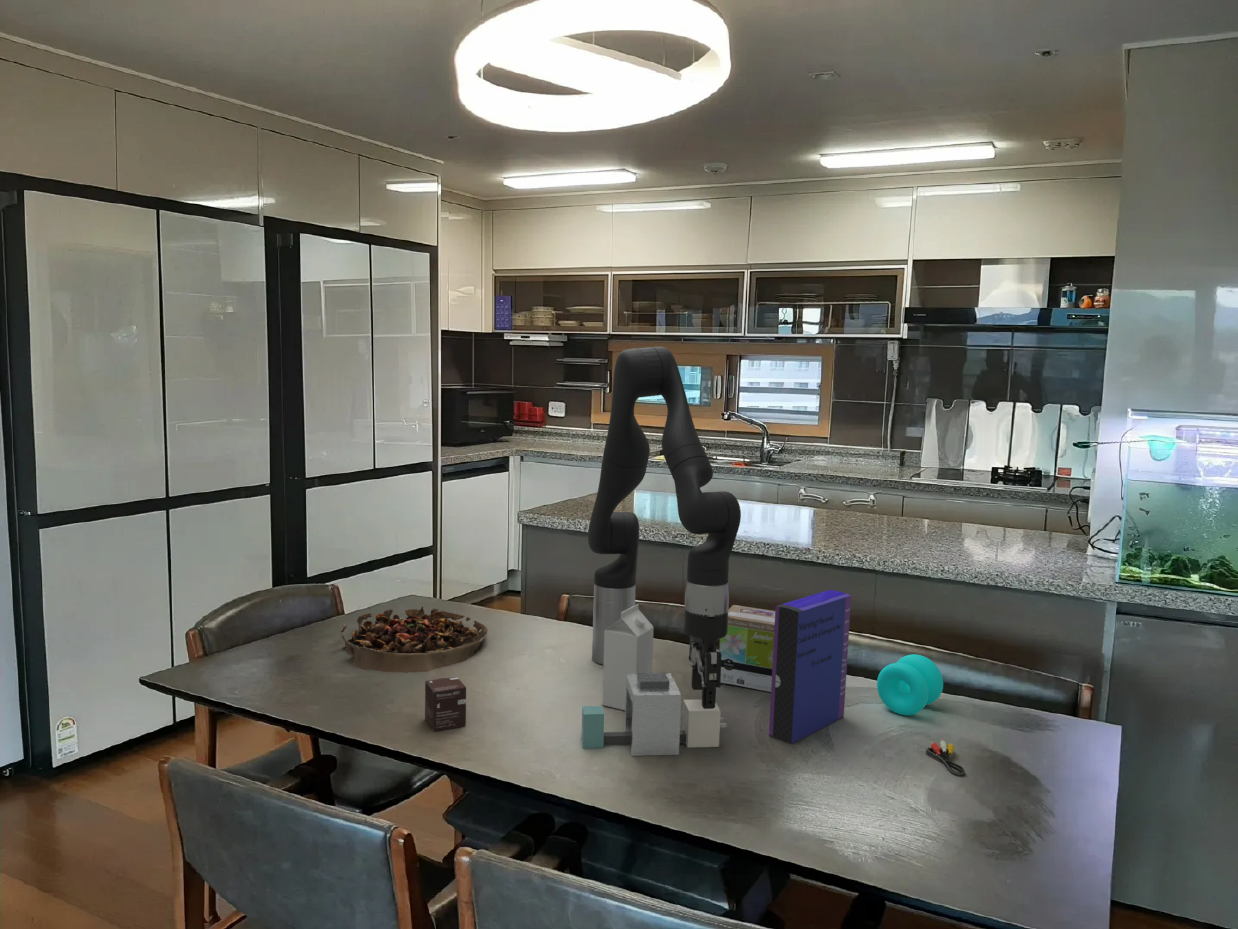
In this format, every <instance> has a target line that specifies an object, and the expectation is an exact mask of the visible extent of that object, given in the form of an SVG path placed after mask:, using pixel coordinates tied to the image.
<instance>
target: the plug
mask: <svg viewBox="0 0 1238 929" xmlns="http://www.w3.org/2000/svg"><path fill="white" fill-rule="evenodd" d="M681 726H682V727H681V729H682V730H681V729H680V739H679V744H685V745H686V747H687V748H689V749H690V748H718V747H720V730H721V729H722V728H723V729H725V728H727V727H728V723H727V722H724V717H723V716H721V708H720V707H719V706H718V704H717V701H716V702H715V708H713V709H704V708H703V707H702V698H701V699H700V698H699V699H683V702H682V725H681ZM604 730H605V710H604V707H603V705H582V707H581V739H580V740H581V745H582V746H581V747H582V749H603V748H604V746H623V745H630V746H631V736H632V732H625V731H606V732H605V731H604Z"/></svg>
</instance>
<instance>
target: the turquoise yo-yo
mask: <svg viewBox="0 0 1238 929" xmlns="http://www.w3.org/2000/svg"><path fill="white" fill-rule="evenodd" d="M876 689H877V693H878V696H879V698H880V700H881V702H882V703H883V704H884V705H885V706H886V708H888V709H889V710H890V711H892V712H893V713H895V714H897V715H898V714H899V715H902V716H912V715H916V714H918V713H919V712H921V711H923V709H924V708H925V707H926V706H927V705H928V706H929V705H931V704H933V703H935V702H936V701H938V699H939V698H940V697H941V695H942V693H943V690H944V679H943V675H942V673H941V670H940V669H939V667H938V666H937V665H936V664H935V663H934V661H933V660H931V659H930V658H929V657H926V656H923V655H921V654H915V653H913V654H908V655H905V656H902V657H901V658H899V660H897V662H893V663H890V664H888V665H886V666H884V667H883V668H882V669H881V670H880V672H879V674H878V676H877V680H876Z"/></svg>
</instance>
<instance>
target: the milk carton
mask: <svg viewBox="0 0 1238 929" xmlns="http://www.w3.org/2000/svg"><path fill="white" fill-rule="evenodd" d="M604 631H605V632H604V665H603V669H602V670H603V672H602V673H603V674H602V675H603V676H602V702H601V703H602V705H601V706H605V707H609V708H613V709H617V710H621V711H625V699H626V674H637V673H653V658H654V657H653V655H654V626H653V624H652V623H651V622H650V621H649V620H648V619H647V617H646V616H645V615H644V614H643V613H642V612H641V610H640V609H639V604H638V603H637V604H635V606H633V607H631V608H629V609H627V610H625V611H623V612H621V618H620V619H619V620H618V621H616V622H615V623H614V624H612V625H611V626H610V627H608V628H607V629H606V630H604Z"/></svg>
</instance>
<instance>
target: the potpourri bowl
mask: <svg viewBox="0 0 1238 929" xmlns="http://www.w3.org/2000/svg"><path fill="white" fill-rule="evenodd" d="M404 611H405V615H406V617H405V618H403V617H400V616H399V614H397V613H396V614H393V613H394V610H393V609H387V610H384V611H383V613H377V614H376V615H375V620H374V623H373V622H372V620H368V618H372V617H373V614H372V613H370V612H369V613H364V614H362V615H359V616H358V617H357V620H356V622H357V624H358V630H357V629H355V630H354V631H353V632H352V635H351V636H352V637H351V638H349V639H346V638H345V636H344V634H342V633H344V631H345V630H346V629H347V627H348V625H347V623H344V624H343V625H342V627H341V629H340V634H339V636H340V639H342V640H343V641H344V645H345V647H344V650H345V651H346V653H348V654H349V655H350V657H352V658H353V661H352V665H353V666H356V667H358V668H360V669H362V670H368V671H370V670H371V671H379V672H381V673H404V674H408V673H423V672H431V671H434V670H436V669H441V668H444V667H449V666H452V665H455V664H456V665H457V664H459V663H462V662H465V661H468V659H469V658H470V657H473V656H474V655H475V651H476V650H477V649H480V645H481V644H482V642H483V641H484V640H485V639H486V638H487V636H488V632H489V631H488V628H487V626H485V624H483V623H481V622H479V621H477V620H473V623H474V624H472V626H473V627H474V628H471V629H470V627H468V626H464V624H463V621H462V620H461V619H463V618H464V617H466V615H463V614H458V613H453V612H449V611H448V612H447V611H444V610H439V609H438V608H432V609H431V611H430V614H427V613H426V612H425V610H424V605H423V606H421V608H420V609H417V608H413V609H411V608H409V609H406V610H404ZM392 614H393V616H392ZM391 616H392V618H391ZM450 619H451V620H450ZM363 620H365V621H364V622H363ZM458 620H460V621H458ZM465 620H466V622H468V621H470V620H471V617H470V616H467V617H466V618H465ZM362 623H363V624H362Z"/></svg>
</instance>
